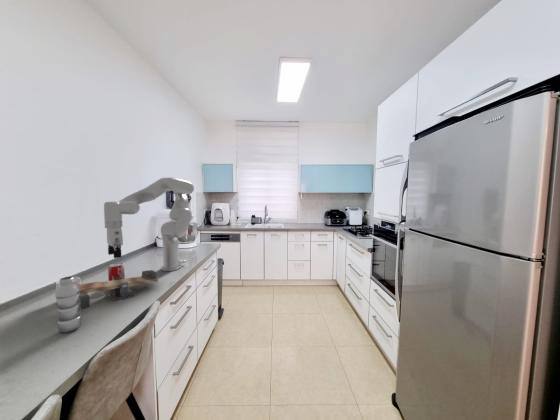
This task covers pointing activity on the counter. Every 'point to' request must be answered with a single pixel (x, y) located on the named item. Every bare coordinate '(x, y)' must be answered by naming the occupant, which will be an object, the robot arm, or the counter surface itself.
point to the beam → (118, 282)
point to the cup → (76, 282)
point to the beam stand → (115, 294)
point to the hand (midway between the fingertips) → (114, 255)
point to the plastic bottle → (68, 305)
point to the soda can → (116, 271)
